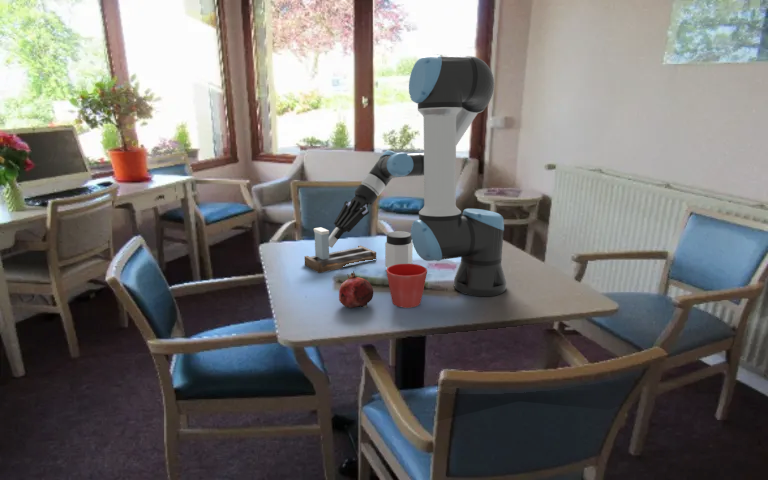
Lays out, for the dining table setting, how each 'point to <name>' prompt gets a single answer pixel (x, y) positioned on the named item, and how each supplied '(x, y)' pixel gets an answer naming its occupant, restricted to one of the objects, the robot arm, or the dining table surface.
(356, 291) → the fruit
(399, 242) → the jar
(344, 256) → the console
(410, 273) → the flower pot
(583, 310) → the dining table surface
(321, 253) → the slider tab
